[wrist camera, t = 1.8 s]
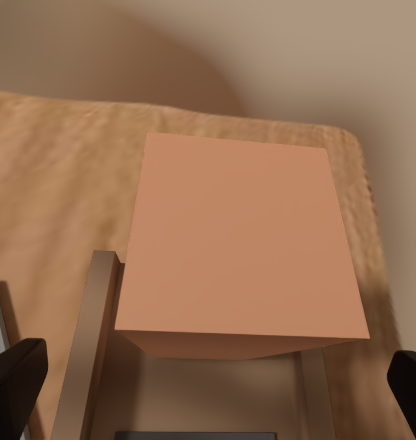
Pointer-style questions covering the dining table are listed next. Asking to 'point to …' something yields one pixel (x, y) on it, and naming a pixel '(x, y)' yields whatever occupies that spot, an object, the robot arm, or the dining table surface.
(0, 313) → the slate mat
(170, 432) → the walnut channel
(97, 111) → the dining table surface
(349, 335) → the terracotta block
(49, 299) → the dining table surface
